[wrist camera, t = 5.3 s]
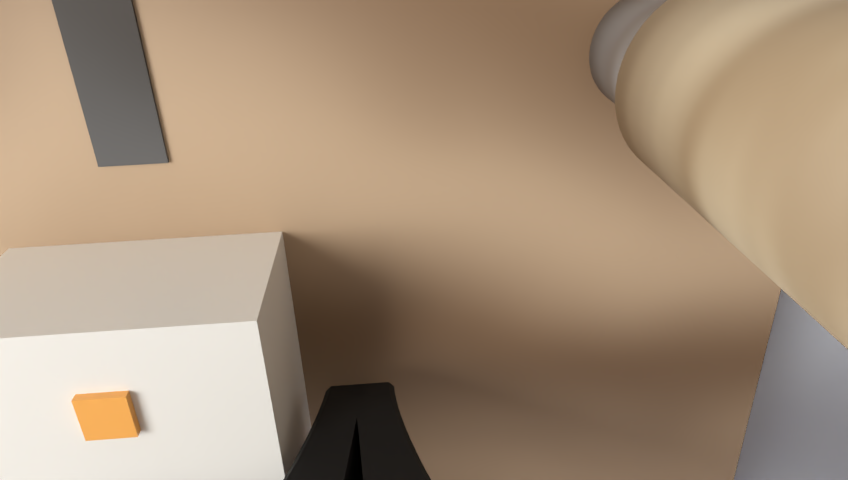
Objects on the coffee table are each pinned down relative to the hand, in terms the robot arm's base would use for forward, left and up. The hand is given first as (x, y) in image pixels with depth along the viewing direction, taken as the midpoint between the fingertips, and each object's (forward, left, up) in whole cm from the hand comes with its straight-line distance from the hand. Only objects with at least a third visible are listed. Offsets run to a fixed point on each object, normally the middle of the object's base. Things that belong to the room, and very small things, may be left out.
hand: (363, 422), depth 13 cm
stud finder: (0, +4, -1) cm, 4 cm away
